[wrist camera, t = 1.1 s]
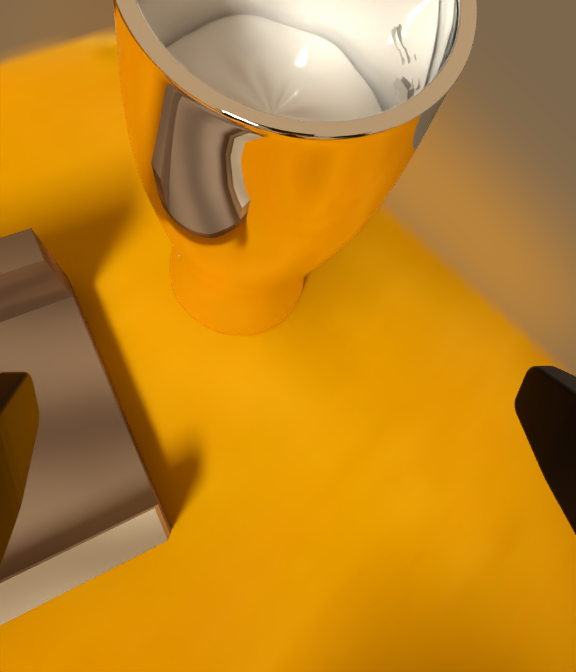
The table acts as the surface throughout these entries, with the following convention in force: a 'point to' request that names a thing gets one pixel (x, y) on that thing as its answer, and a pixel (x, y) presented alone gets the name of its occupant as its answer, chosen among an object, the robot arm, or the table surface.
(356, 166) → the beer glass
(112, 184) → the table surface
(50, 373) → the grey bracket
